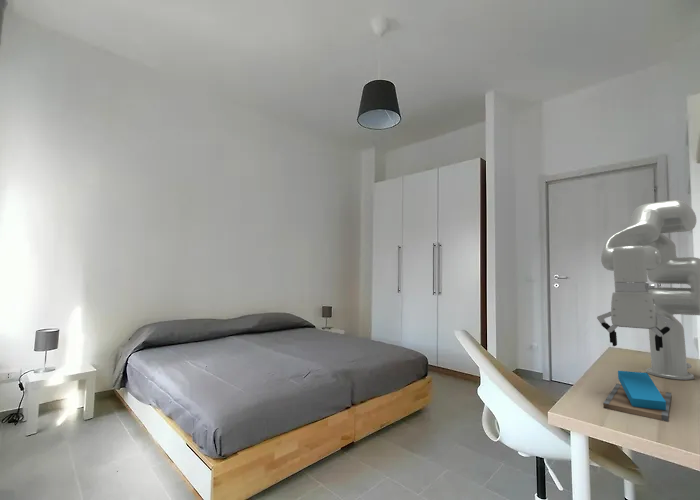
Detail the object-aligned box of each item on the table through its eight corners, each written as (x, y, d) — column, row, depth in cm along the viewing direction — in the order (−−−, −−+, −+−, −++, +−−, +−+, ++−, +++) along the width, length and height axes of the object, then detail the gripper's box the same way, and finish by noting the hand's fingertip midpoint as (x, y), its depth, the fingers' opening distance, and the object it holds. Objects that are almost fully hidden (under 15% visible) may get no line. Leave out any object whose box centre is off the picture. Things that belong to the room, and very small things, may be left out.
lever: (665, 426, 89) (642, 387, 105) (666, 401, 88) (642, 366, 104) (632, 421, 92) (615, 385, 108) (632, 398, 91) (614, 364, 107)
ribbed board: (616, 387, 111) (616, 383, 111) (671, 397, 102) (671, 392, 102) (603, 407, 94) (603, 402, 94) (668, 421, 85) (668, 416, 85)
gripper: (671, 288, 97) (677, 349, 96) (597, 287, 109) (601, 342, 108) (671, 289, 92) (676, 354, 91) (592, 288, 104) (596, 346, 103)
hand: (635, 347), depth 99 cm, fingers open, 9 cm apart
